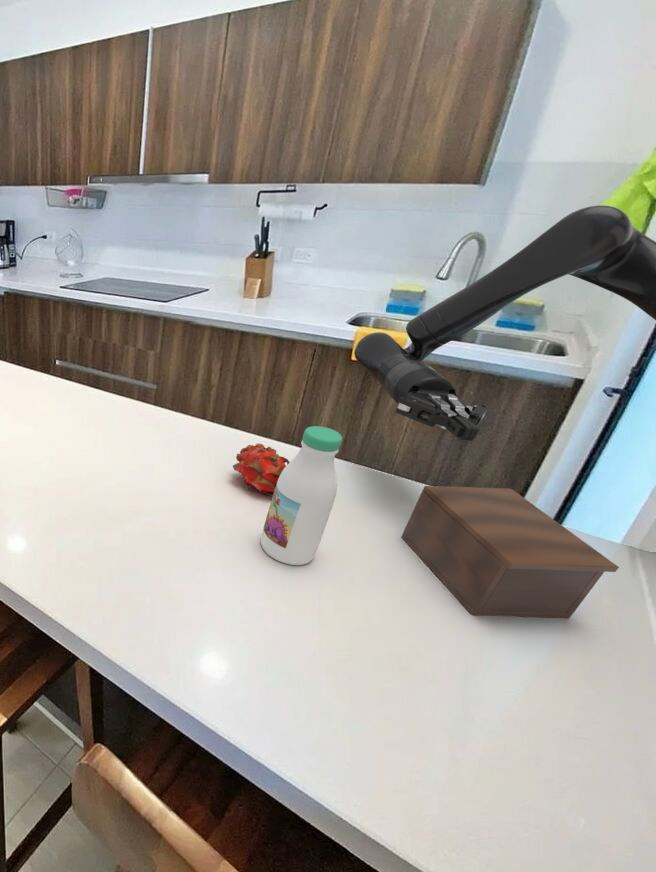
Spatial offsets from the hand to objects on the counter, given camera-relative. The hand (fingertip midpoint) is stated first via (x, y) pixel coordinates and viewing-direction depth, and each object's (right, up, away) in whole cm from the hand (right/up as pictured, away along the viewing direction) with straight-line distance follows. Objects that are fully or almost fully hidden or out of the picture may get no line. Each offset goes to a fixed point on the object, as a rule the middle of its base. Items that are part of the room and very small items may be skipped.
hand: (470, 434), depth 70 cm
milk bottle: (-24, -17, +5) cm, 30 cm away
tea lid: (+2, -12, -3) cm, 13 cm away
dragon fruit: (-21, -9, +20) cm, 31 cm away
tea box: (+2, -20, +1) cm, 20 cm away
